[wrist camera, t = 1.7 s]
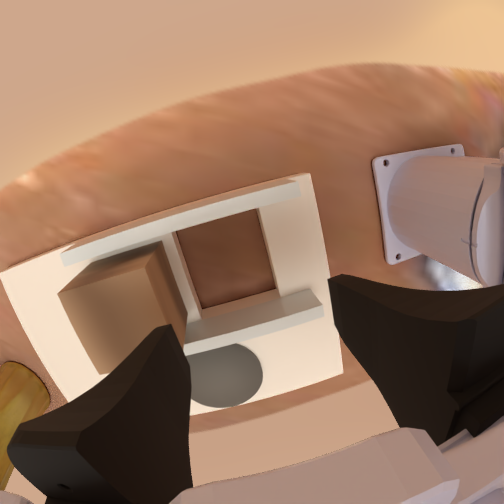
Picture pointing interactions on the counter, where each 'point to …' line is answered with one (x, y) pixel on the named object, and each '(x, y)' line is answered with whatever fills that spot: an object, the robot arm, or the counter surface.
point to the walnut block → (123, 303)
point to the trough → (225, 325)
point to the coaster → (224, 376)
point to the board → (264, 347)
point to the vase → (17, 407)
